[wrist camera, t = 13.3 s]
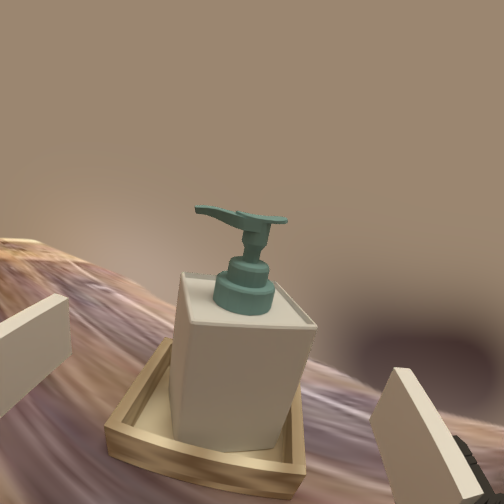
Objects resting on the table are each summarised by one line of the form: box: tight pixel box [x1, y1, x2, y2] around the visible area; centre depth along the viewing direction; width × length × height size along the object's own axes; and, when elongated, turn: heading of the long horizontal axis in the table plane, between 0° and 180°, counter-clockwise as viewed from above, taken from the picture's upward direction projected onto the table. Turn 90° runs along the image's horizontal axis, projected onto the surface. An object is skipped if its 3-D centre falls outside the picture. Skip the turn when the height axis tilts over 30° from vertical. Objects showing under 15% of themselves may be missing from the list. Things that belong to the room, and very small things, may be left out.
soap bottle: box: [168, 205, 317, 452], centre depth 24 cm, size 9×9×19 cm
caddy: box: [104, 337, 306, 500], centre depth 26 cm, size 15×15×4 cm
